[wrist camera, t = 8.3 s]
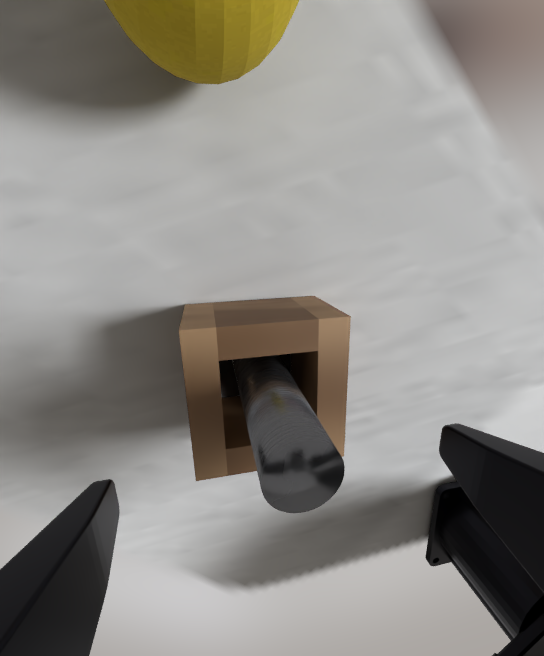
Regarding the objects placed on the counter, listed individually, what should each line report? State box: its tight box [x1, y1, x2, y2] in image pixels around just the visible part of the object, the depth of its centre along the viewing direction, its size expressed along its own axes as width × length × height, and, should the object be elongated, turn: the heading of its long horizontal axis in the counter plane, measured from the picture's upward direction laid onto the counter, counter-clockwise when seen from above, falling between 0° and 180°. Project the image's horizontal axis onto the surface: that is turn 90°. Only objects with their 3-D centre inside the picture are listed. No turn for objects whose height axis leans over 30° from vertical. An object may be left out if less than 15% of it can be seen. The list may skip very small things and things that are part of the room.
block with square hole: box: [179, 296, 351, 481], centre depth 14 cm, size 6×6×4 cm
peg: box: [233, 355, 344, 513], centre depth 12 cm, size 2×2×8 cm
